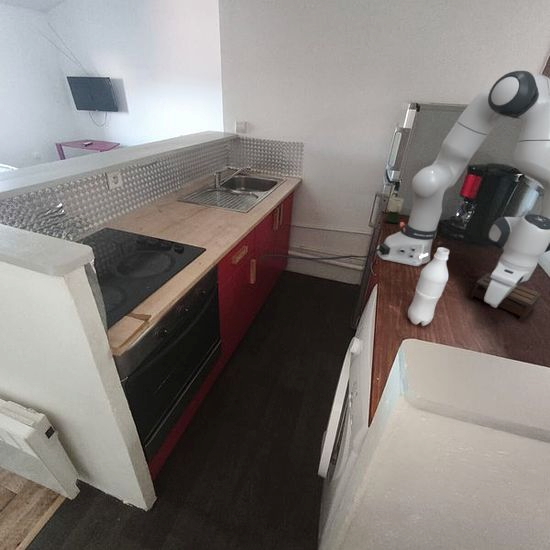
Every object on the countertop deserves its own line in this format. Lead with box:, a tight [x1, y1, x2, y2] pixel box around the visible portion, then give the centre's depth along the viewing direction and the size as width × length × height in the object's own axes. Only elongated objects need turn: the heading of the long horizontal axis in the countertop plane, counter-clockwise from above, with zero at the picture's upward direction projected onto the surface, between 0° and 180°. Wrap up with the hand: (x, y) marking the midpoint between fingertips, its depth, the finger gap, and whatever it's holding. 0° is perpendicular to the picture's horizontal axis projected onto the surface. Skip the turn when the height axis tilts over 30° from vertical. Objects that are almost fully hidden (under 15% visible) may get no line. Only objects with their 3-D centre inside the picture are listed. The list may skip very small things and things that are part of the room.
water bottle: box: [407, 247, 450, 327], centre depth 86 cm, size 7×7×25 cm
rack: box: [468, 272, 542, 322], centre depth 100 cm, size 10×16×7 cm, turn 38°
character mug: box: [385, 196, 405, 224], centre depth 161 cm, size 11×7×13 cm, turn 2°
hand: (494, 305), depth 96 cm, fingers closed
